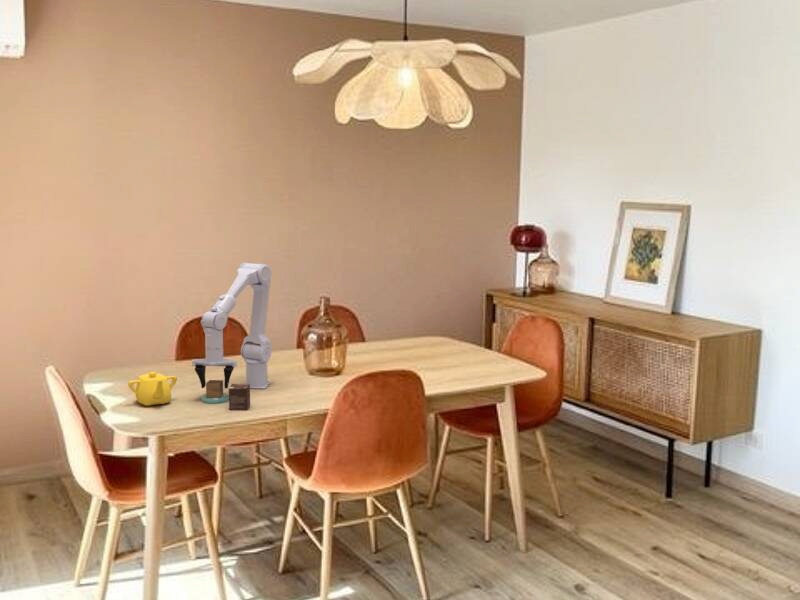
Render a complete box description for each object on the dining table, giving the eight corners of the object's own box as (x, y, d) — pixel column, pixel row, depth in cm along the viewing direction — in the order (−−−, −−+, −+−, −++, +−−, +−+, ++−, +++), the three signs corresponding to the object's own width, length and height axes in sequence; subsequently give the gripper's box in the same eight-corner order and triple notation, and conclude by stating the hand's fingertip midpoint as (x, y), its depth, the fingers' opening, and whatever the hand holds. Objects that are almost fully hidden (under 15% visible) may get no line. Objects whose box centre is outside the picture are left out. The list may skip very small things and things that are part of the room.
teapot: (183, 399, 274) (182, 369, 273) (162, 410, 262) (161, 378, 260) (147, 396, 278) (146, 366, 276) (125, 406, 266) (124, 375, 264)
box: (250, 405, 269) (250, 383, 268) (247, 410, 263) (247, 388, 262) (231, 405, 269) (231, 383, 268) (228, 410, 263) (228, 388, 262)
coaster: (205, 397, 279) (205, 392, 278) (231, 398, 278) (231, 392, 278) (198, 405, 270) (198, 399, 269) (225, 406, 270) (225, 400, 269)
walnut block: (210, 394, 276) (209, 380, 275) (223, 394, 276) (223, 380, 275) (206, 398, 271) (206, 383, 271) (219, 398, 271) (219, 383, 270)
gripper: (189, 349, 267) (190, 389, 270) (233, 350, 267) (233, 391, 269) (195, 345, 274) (195, 384, 277) (238, 346, 274) (238, 385, 276)
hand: (215, 387), depth 273 cm, fingers open, 7 cm apart
